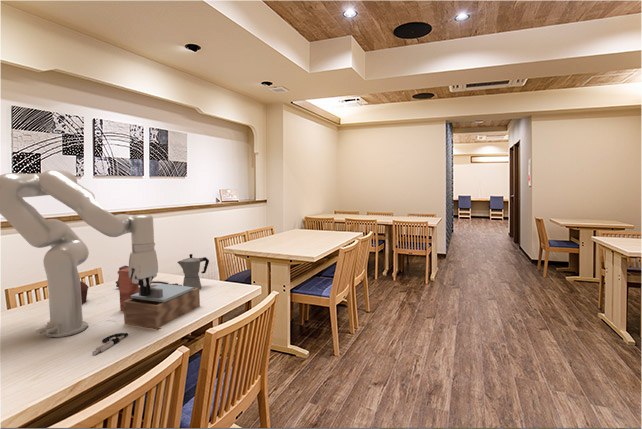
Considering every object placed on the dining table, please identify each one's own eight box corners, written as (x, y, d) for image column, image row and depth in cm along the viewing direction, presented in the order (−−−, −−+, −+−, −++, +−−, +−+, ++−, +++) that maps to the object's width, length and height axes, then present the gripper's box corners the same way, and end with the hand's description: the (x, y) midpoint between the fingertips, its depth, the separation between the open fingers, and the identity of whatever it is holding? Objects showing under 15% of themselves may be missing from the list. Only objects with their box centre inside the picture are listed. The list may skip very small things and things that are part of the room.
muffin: (94, 302, 160) (92, 280, 159) (65, 309, 151) (64, 286, 150) (82, 297, 167) (80, 276, 166) (54, 304, 158) (52, 282, 157)
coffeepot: (179, 293, 174) (178, 257, 172) (176, 288, 182) (175, 253, 180) (211, 288, 182) (211, 253, 180) (207, 284, 190) (206, 250, 188)
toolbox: (158, 330, 130) (157, 306, 130) (124, 324, 136) (123, 301, 135) (199, 308, 153) (199, 287, 152) (169, 304, 158) (169, 284, 157)
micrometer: (112, 335, 127) (112, 328, 127) (130, 336, 126) (130, 329, 126) (77, 355, 112) (76, 347, 112) (97, 356, 111) (96, 349, 111)
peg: (129, 314, 146) (127, 271, 144) (120, 313, 147) (118, 270, 146) (139, 310, 150) (137, 268, 149) (130, 309, 152) (128, 267, 150)
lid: (163, 302, 133) (163, 292, 132) (130, 297, 138) (130, 287, 138) (193, 289, 149) (193, 280, 149) (162, 286, 154) (162, 276, 154)
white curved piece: (172, 294, 172) (170, 277, 168) (171, 300, 168) (170, 283, 164) (133, 297, 167) (131, 280, 163) (132, 304, 163) (129, 286, 159)
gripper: (150, 243, 141) (153, 289, 143) (118, 250, 127) (121, 300, 129) (166, 244, 139) (168, 290, 140) (134, 252, 125) (137, 302, 126)
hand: (145, 295), depth 135 cm, fingers closed
